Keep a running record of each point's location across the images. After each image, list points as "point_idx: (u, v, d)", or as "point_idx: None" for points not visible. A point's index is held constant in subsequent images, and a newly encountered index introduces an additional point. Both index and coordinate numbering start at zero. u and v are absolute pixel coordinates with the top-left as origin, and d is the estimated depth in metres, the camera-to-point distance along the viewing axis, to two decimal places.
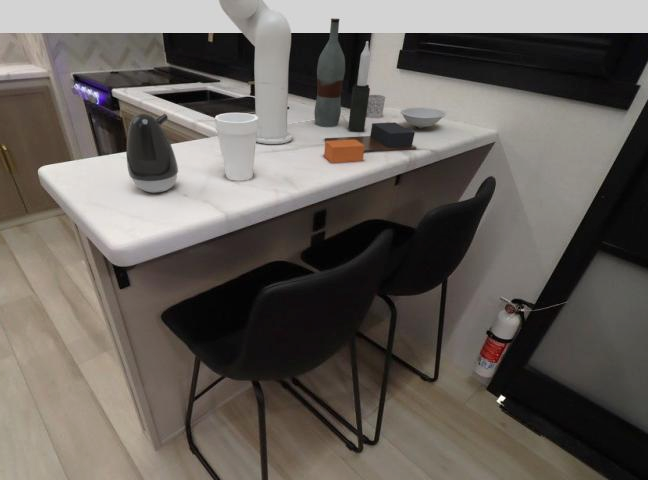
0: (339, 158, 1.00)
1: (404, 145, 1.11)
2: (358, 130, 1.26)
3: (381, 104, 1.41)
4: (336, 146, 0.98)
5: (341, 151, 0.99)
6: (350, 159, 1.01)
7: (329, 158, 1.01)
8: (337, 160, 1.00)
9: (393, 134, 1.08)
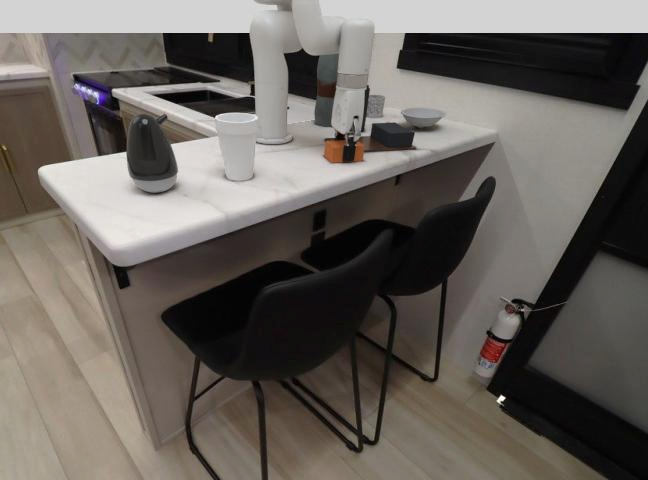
0: (339, 158, 1.00)
1: (404, 145, 1.11)
2: None
3: (381, 104, 1.41)
4: (336, 146, 0.98)
5: (341, 151, 0.99)
6: None
7: (329, 158, 1.01)
8: (337, 160, 1.00)
9: (393, 134, 1.08)
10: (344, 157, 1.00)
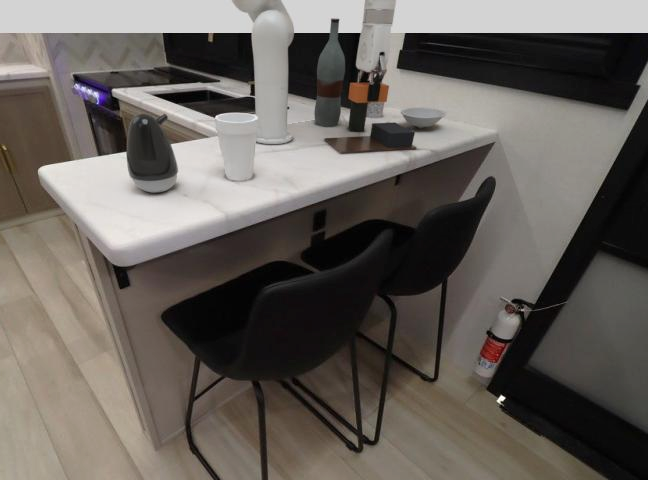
0: (364, 98, 1.03)
1: (404, 145, 1.11)
2: (358, 130, 1.26)
3: (381, 104, 1.41)
4: (361, 85, 1.01)
5: (366, 91, 1.02)
6: None
7: (354, 99, 1.04)
8: (362, 100, 1.03)
9: (393, 134, 1.08)
10: (369, 97, 1.02)
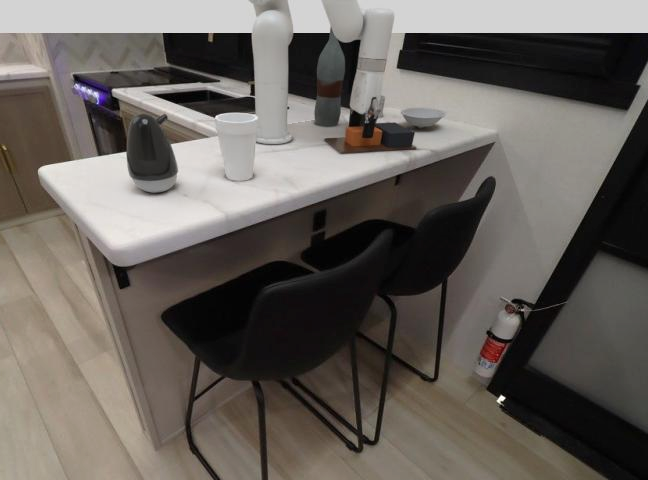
0: (359, 142, 1.10)
1: (404, 145, 1.11)
2: None
3: (381, 104, 1.41)
4: (357, 131, 1.09)
5: (361, 136, 1.09)
6: (369, 143, 1.11)
7: (350, 142, 1.11)
8: (357, 144, 1.11)
9: (393, 134, 1.08)
10: (364, 134, 1.07)
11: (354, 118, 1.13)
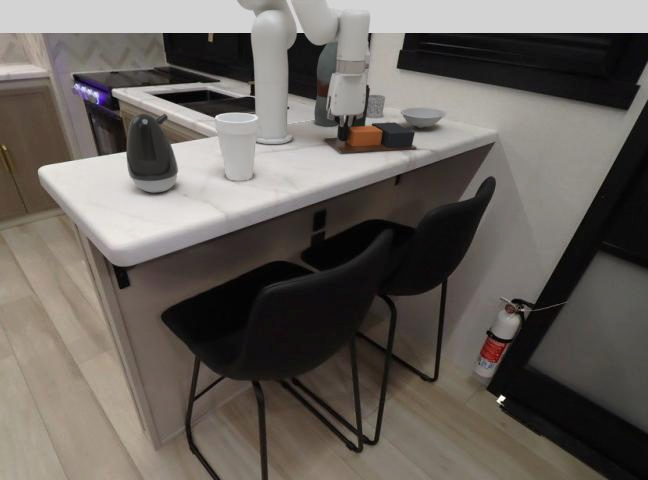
0: (359, 142, 1.10)
1: (404, 145, 1.11)
2: None
3: (381, 104, 1.41)
4: (357, 131, 1.09)
5: (361, 136, 1.09)
6: (369, 143, 1.11)
7: (350, 142, 1.11)
8: (357, 144, 1.11)
9: (393, 134, 1.08)
10: None
11: None
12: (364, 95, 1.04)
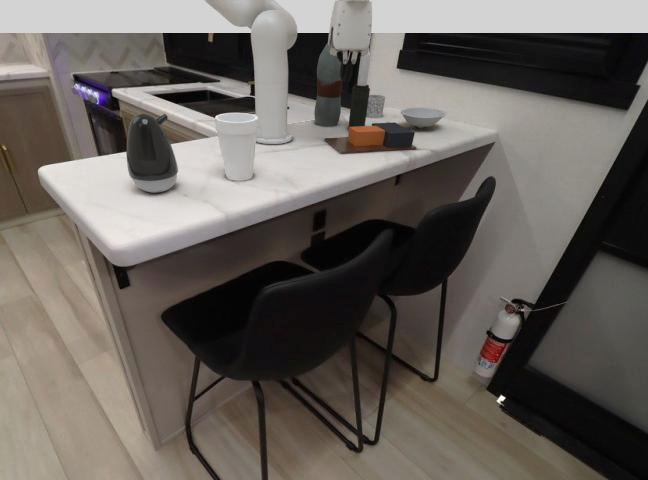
0: (362, 142, 1.11)
1: (404, 145, 1.11)
2: None
3: (381, 104, 1.41)
4: (360, 131, 1.09)
5: (364, 136, 1.10)
6: (372, 143, 1.12)
7: (353, 142, 1.12)
8: (360, 144, 1.11)
9: (393, 134, 1.08)
10: None
11: None
12: (370, 27, 0.94)
